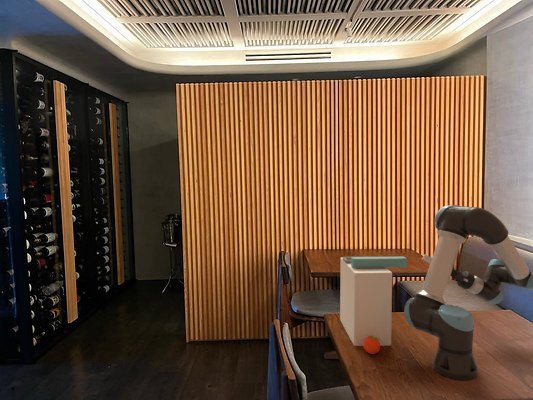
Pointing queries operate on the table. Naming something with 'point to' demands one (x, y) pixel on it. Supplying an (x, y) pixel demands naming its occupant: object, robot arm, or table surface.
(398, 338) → the table surface
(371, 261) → the teal block
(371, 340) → the tomato
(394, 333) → the table surface
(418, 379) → the table surface
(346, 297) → the tall cream box
